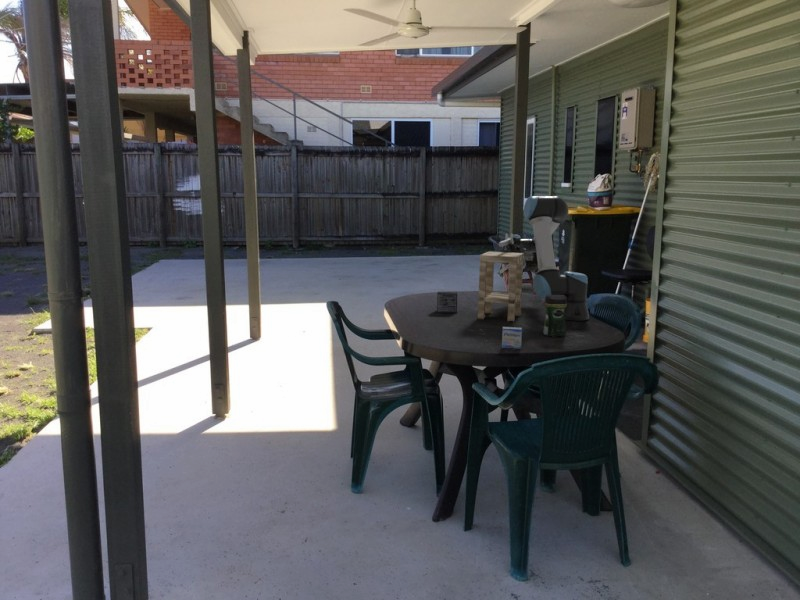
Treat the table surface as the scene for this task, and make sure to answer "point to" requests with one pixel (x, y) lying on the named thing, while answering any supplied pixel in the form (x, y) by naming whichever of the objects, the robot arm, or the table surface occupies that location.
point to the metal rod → (505, 242)
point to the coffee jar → (555, 315)
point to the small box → (446, 302)
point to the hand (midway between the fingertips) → (508, 235)
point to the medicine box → (511, 337)
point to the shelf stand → (487, 283)
